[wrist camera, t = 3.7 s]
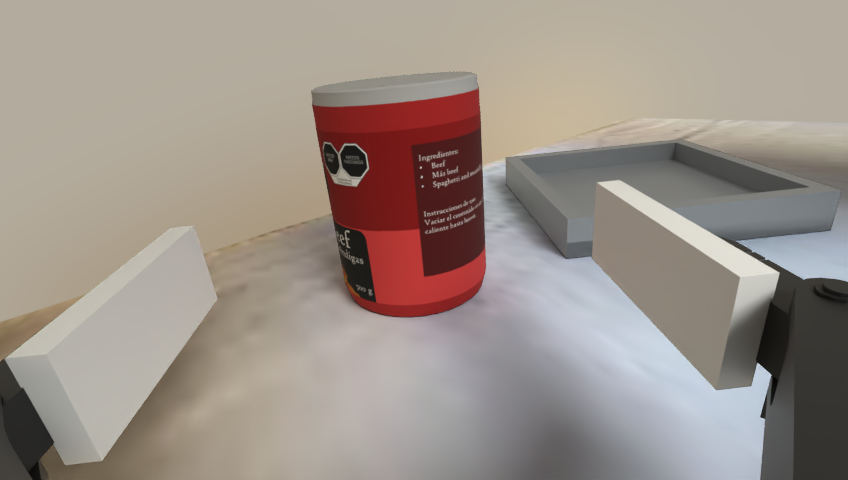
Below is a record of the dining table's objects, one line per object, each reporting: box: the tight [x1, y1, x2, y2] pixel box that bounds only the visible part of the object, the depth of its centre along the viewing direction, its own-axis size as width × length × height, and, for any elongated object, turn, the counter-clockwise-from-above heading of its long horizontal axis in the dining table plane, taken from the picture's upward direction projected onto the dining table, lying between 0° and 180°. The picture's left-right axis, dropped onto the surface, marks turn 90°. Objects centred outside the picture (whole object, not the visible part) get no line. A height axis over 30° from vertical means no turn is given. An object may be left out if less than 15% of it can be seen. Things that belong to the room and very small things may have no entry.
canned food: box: [311, 72, 486, 317], centre depth 23 cm, size 8×8×11 cm
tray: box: [506, 139, 842, 259], centre depth 34 cm, size 16×16×2 cm
